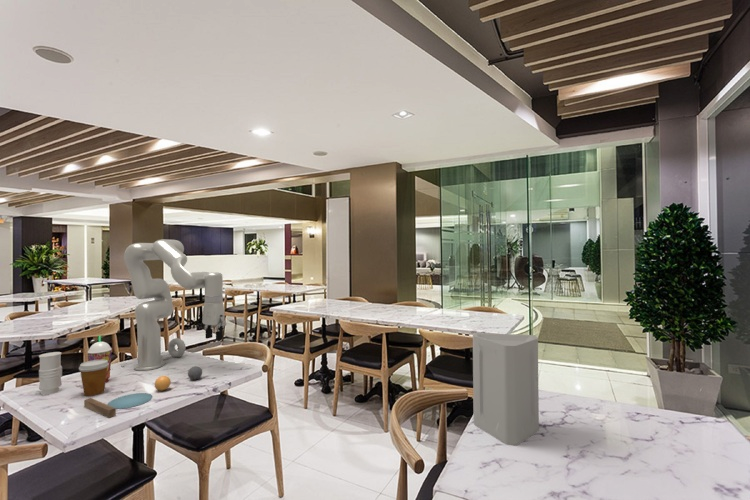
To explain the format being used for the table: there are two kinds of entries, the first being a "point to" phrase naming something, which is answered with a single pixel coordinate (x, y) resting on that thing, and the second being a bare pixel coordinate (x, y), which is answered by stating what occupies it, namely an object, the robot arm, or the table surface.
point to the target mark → (130, 400)
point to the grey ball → (195, 372)
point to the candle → (50, 373)
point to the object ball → (162, 383)
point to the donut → (180, 345)
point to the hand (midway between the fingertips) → (214, 338)
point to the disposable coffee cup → (93, 376)
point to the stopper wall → (100, 407)
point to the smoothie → (101, 354)
